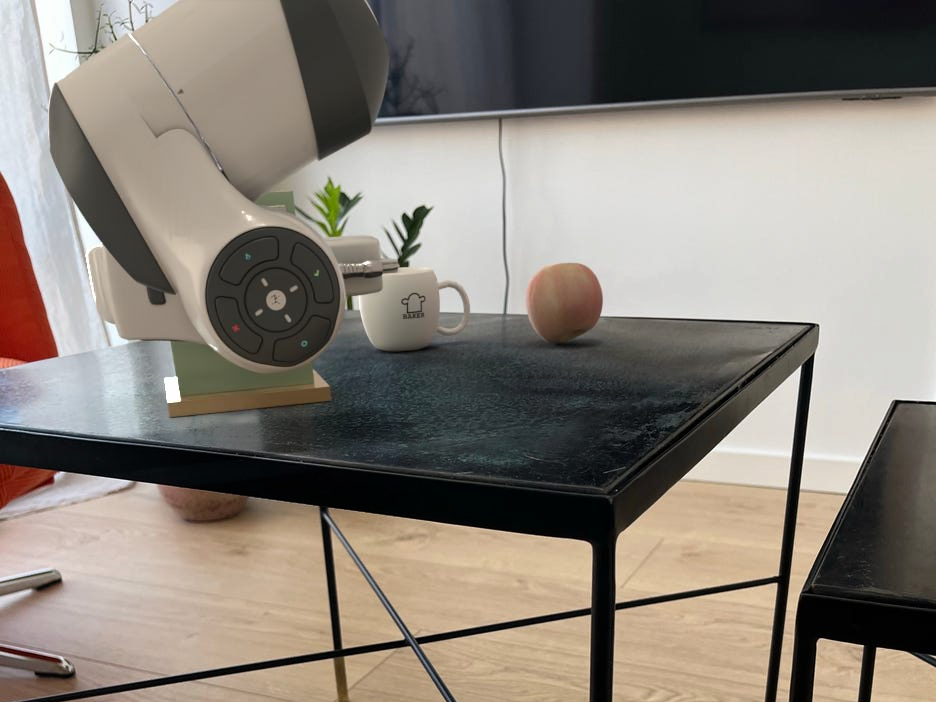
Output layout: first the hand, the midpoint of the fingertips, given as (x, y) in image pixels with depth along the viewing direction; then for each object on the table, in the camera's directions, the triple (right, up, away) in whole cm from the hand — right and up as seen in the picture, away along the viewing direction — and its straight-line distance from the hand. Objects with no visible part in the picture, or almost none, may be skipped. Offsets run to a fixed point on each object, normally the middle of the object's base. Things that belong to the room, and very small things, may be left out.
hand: (232, 266), depth 77 cm
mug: (+12, +3, +32) cm, 34 cm away
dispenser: (-1, -8, +10) cm, 13 cm away
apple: (+28, +2, +29) cm, 40 cm away
